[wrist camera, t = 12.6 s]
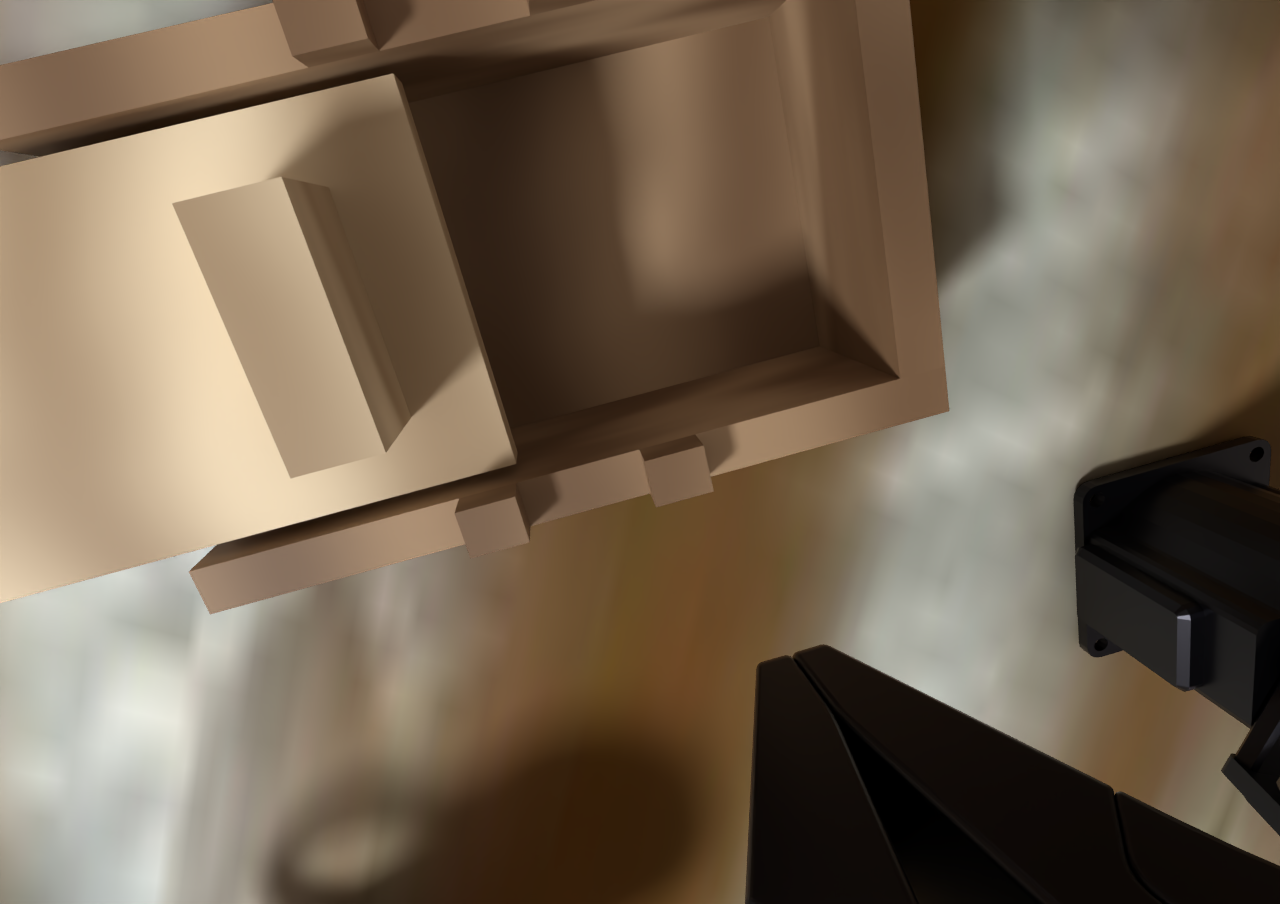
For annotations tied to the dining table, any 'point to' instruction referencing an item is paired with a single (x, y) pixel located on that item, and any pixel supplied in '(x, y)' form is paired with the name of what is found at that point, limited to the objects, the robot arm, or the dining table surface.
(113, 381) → the sliding box lid
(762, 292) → the toolbox
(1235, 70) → the dining table surface
